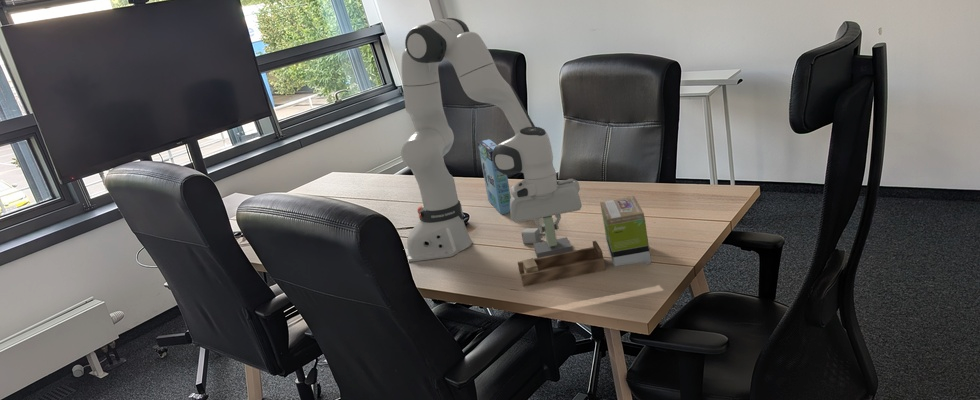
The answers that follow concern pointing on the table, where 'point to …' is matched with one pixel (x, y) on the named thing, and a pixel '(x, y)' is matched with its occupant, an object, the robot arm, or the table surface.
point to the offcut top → (530, 265)
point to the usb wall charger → (532, 235)
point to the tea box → (625, 231)
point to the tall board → (549, 231)
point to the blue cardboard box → (494, 179)
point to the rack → (564, 265)
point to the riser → (552, 248)
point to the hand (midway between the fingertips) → (549, 230)
